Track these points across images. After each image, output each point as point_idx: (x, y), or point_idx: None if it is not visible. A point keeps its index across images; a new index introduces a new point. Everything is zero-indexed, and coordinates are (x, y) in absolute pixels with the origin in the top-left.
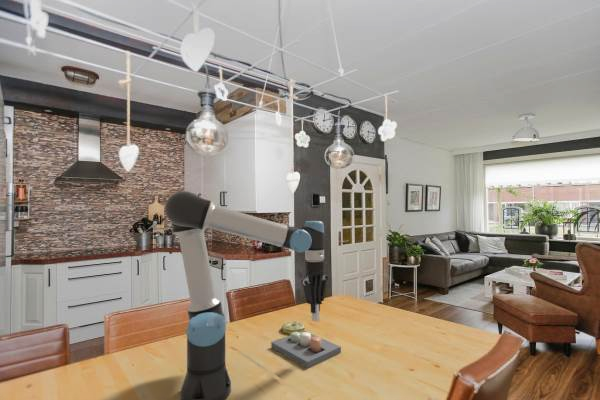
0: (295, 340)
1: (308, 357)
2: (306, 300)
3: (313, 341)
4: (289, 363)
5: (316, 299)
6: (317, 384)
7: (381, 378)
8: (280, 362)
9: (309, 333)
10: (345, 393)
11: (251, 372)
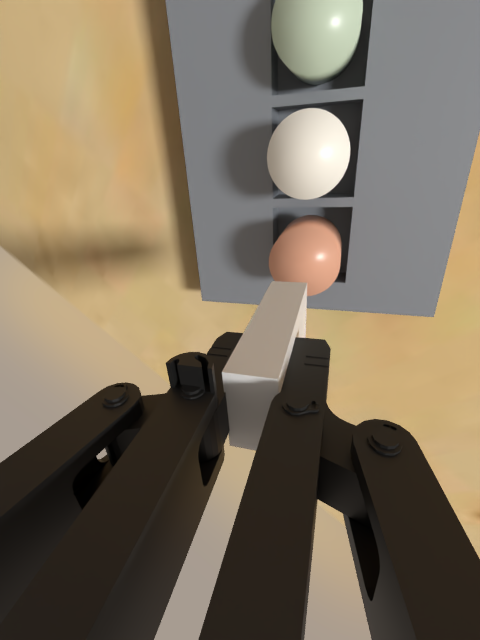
0: (289, 69)
1: (227, 277)
2: (74, 418)
3: (271, 274)
4: (186, 195)
5: (295, 443)
6: None
7: None
8: (158, 158)
9: (341, 165)
10: None
11: (37, 148)
